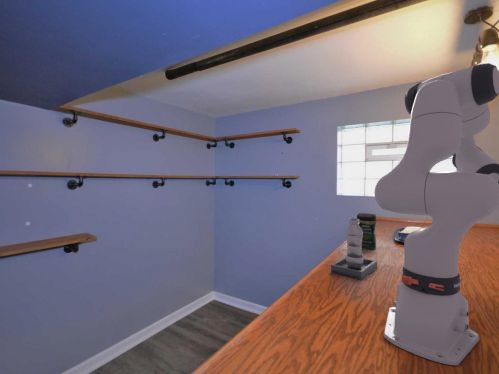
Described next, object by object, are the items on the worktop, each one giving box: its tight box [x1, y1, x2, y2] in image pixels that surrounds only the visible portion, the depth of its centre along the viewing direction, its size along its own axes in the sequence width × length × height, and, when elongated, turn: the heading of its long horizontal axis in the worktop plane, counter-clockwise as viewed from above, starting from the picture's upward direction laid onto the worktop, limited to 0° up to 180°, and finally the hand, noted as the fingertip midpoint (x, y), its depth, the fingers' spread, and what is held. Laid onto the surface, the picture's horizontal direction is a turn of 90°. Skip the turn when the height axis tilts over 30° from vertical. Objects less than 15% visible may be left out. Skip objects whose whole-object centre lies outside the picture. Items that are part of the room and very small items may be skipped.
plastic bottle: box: [345, 218, 364, 269], centre depth 103 cm, size 6×7×20 cm
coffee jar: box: [356, 212, 378, 250], centre depth 136 cm, size 10×8×19 cm
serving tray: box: [330, 256, 378, 281], centre depth 104 cm, size 17×12×3 cm
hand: (410, 191), depth 101 cm, fingers open, 8 cm apart
